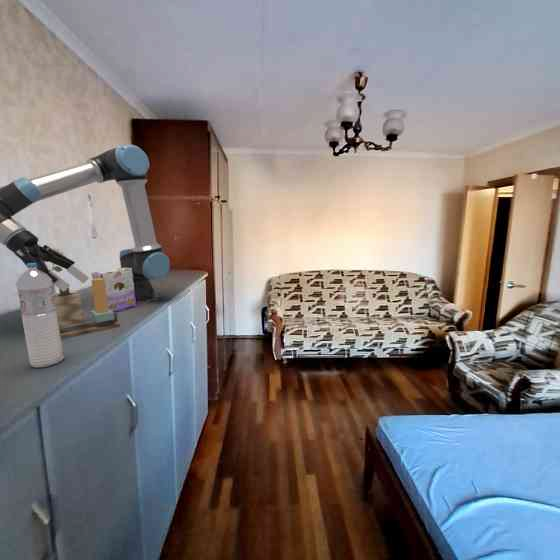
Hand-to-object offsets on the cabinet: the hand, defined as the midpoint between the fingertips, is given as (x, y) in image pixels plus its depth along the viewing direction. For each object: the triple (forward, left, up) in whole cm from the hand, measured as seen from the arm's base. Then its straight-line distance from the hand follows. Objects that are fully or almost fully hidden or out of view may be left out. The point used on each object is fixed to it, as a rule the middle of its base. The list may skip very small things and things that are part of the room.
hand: (77, 284), depth 98 cm
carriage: (-6, +2, -12) cm, 14 cm away
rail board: (-1, +2, -15) cm, 15 cm away
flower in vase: (+3, -39, -15) cm, 42 cm away
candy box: (-15, -18, -15) cm, 28 cm away
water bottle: (+11, +23, -15) cm, 30 cm away
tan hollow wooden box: (+2, -13, -15) cm, 20 cm away
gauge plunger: (+3, -13, -8) cm, 15 cm away
